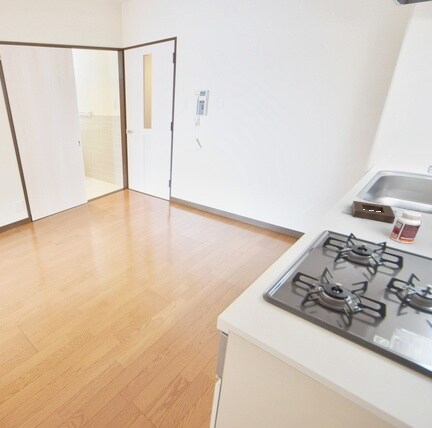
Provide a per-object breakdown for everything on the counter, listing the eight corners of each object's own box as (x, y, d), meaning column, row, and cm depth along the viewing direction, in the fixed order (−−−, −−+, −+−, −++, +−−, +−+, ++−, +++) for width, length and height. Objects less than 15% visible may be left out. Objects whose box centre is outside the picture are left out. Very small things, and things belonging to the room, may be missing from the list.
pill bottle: (415, 241, 103) (428, 214, 99) (407, 245, 101) (420, 218, 96) (394, 234, 108) (405, 208, 104) (386, 238, 106) (397, 212, 101)
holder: (388, 212, 126) (390, 206, 124) (392, 223, 116) (395, 216, 115) (351, 206, 133) (353, 200, 131) (352, 216, 123) (354, 210, 122)
